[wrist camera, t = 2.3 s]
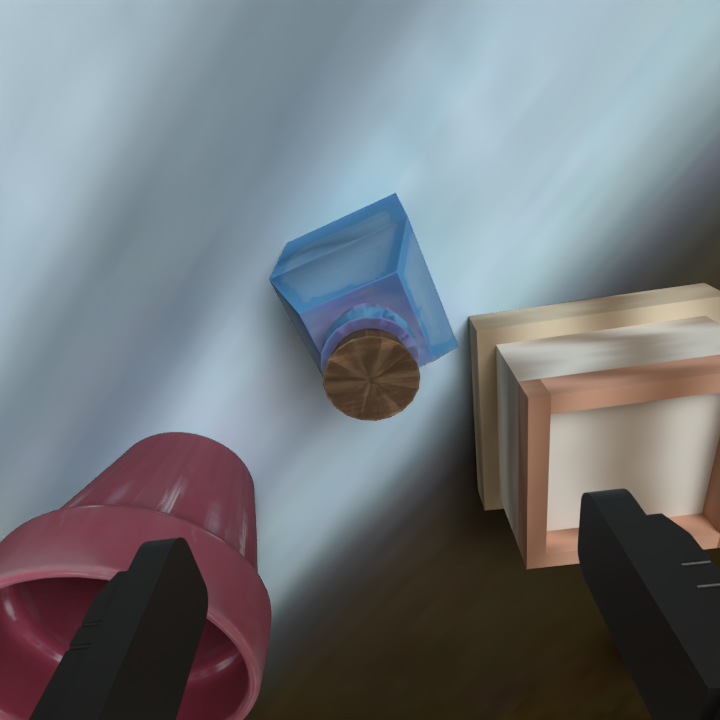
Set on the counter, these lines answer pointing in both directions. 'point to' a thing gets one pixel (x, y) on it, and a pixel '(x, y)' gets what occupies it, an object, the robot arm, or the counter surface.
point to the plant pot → (116, 552)
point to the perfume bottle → (365, 308)
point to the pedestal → (599, 413)
